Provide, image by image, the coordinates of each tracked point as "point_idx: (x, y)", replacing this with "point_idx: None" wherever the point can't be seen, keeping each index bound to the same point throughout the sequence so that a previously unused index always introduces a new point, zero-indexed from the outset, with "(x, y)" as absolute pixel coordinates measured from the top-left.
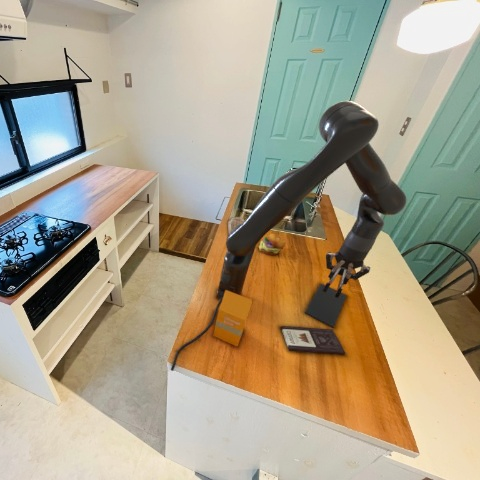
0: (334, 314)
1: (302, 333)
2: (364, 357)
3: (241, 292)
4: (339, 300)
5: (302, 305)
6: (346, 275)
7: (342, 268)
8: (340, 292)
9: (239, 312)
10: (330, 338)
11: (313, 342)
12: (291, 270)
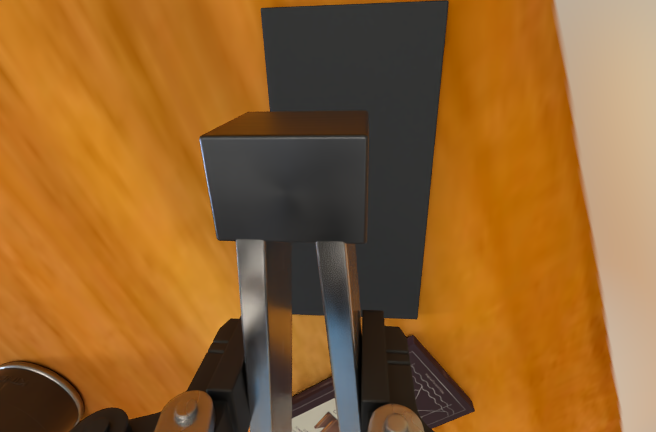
0: (405, 244)
1: (321, 417)
2: (543, 372)
3: (44, 428)
4: (411, 107)
5: None
6: (367, 414)
7: (283, 239)
8: None
9: None
10: (415, 386)
11: None
12: (53, 5)
